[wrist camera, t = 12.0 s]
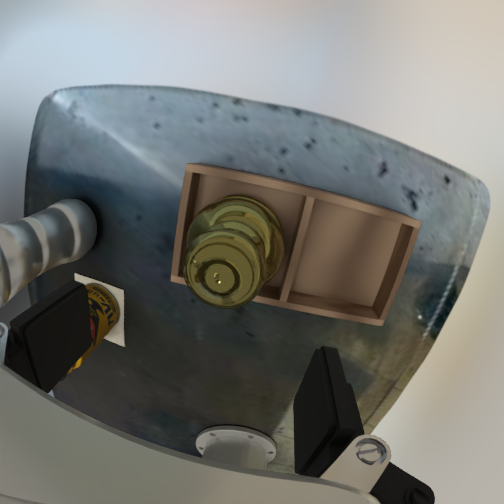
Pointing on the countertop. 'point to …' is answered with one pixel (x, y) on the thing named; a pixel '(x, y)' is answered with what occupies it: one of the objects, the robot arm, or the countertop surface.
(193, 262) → the brass weight
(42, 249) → the plastic bottle
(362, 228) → the caddy
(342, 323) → the countertop surface
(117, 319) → the condiment
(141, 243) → the countertop surface
